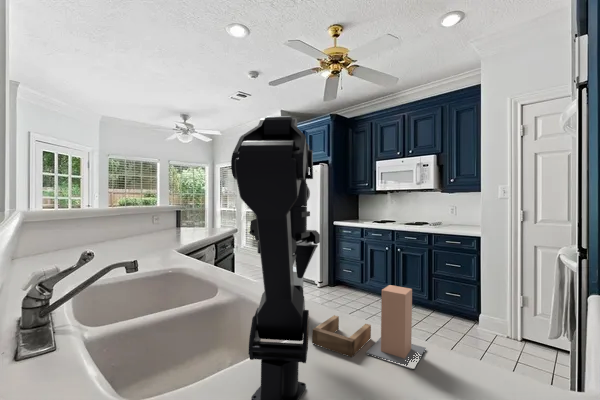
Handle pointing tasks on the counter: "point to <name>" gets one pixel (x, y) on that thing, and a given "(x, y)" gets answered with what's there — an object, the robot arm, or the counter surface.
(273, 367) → the robot arm
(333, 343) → the u-shaped frame
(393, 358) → the mat
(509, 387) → the counter surface
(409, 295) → the block
